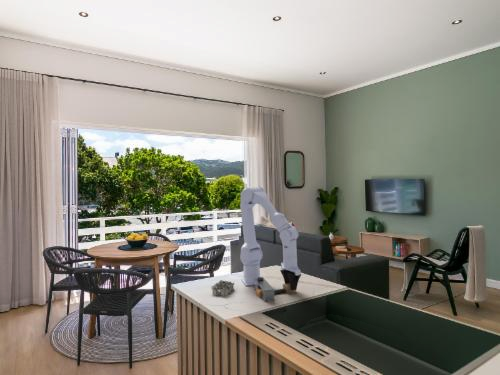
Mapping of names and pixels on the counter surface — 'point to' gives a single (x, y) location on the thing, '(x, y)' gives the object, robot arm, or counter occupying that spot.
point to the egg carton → (225, 287)
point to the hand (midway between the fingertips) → (291, 288)
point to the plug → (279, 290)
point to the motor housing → (265, 289)
